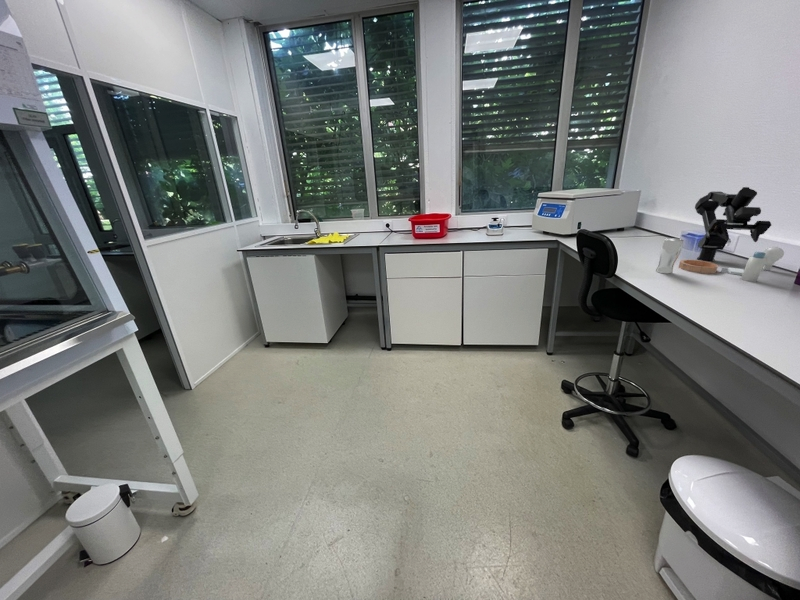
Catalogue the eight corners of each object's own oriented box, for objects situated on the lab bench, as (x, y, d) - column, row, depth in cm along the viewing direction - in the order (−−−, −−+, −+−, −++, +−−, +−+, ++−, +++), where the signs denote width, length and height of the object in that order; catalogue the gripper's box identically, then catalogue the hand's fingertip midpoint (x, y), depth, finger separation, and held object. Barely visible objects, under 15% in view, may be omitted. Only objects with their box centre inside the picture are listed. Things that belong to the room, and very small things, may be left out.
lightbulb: (771, 269, 147) (782, 246, 142) (778, 273, 141) (789, 249, 137) (752, 268, 149) (762, 244, 145) (759, 271, 144) (769, 247, 140)
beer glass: (666, 269, 149) (677, 237, 143) (677, 274, 142) (688, 241, 137) (650, 269, 150) (660, 237, 144) (660, 274, 143) (670, 241, 137)
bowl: (680, 264, 157) (683, 258, 155) (716, 269, 148) (719, 263, 147) (676, 270, 148) (678, 263, 147) (714, 276, 140) (716, 269, 138)
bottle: (740, 278, 137) (751, 250, 132) (756, 280, 133) (768, 252, 129) (739, 280, 134) (751, 252, 129) (756, 283, 130) (769, 254, 126)
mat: (721, 268, 149) (722, 267, 149) (752, 273, 142) (752, 272, 142) (720, 273, 143) (720, 272, 143) (752, 278, 136) (752, 277, 136)
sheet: (727, 269, 146) (728, 267, 146) (742, 271, 144) (743, 269, 143) (730, 273, 141) (731, 271, 141) (746, 275, 138) (747, 273, 138)
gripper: (718, 200, 140) (724, 225, 133) (776, 201, 133) (785, 228, 126) (705, 219, 149) (709, 244, 142) (758, 221, 142) (766, 247, 135)
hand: (741, 240), depth 136 cm, fingers open, 9 cm apart
